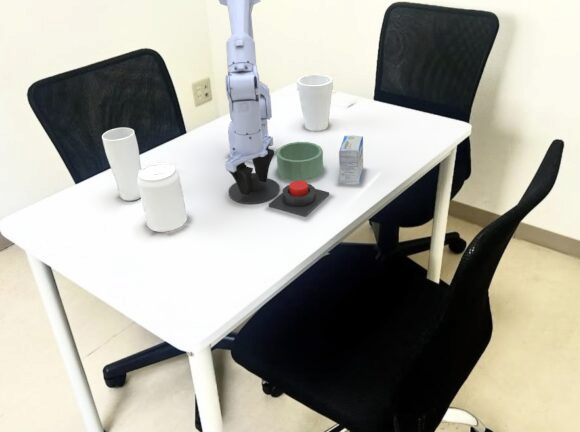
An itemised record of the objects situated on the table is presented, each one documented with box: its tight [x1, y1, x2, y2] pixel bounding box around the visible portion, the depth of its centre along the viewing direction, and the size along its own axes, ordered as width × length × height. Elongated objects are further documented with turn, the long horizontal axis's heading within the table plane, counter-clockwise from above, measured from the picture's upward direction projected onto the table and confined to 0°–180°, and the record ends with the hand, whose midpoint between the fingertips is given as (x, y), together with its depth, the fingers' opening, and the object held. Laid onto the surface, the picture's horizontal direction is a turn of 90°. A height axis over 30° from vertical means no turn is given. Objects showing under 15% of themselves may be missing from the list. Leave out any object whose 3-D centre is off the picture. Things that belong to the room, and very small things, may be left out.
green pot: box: [275, 141, 324, 182], centre depth 129 cm, size 10×10×5 cm
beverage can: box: [137, 162, 188, 233], centre depth 111 cm, size 8×8×12 cm
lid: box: [228, 172, 281, 205], centre depth 121 cm, size 11×11×4 cm
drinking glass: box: [101, 127, 142, 202], centre depth 120 cm, size 7×7×15 cm
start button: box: [288, 181, 309, 196], centre depth 116 cm, size 4×4×2 cm
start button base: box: [268, 183, 330, 218], centre depth 117 cm, size 9×10×3 cm
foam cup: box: [296, 73, 334, 132], centre depth 149 cm, size 10×9×13 cm
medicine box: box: [338, 135, 364, 185], centre depth 124 cm, size 8×4×9 cm, turn 168°
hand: (253, 187), depth 122 cm, fingers open, 6 cm apart
